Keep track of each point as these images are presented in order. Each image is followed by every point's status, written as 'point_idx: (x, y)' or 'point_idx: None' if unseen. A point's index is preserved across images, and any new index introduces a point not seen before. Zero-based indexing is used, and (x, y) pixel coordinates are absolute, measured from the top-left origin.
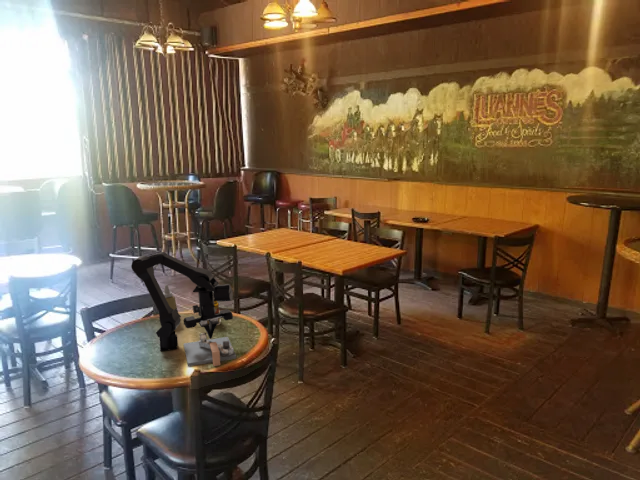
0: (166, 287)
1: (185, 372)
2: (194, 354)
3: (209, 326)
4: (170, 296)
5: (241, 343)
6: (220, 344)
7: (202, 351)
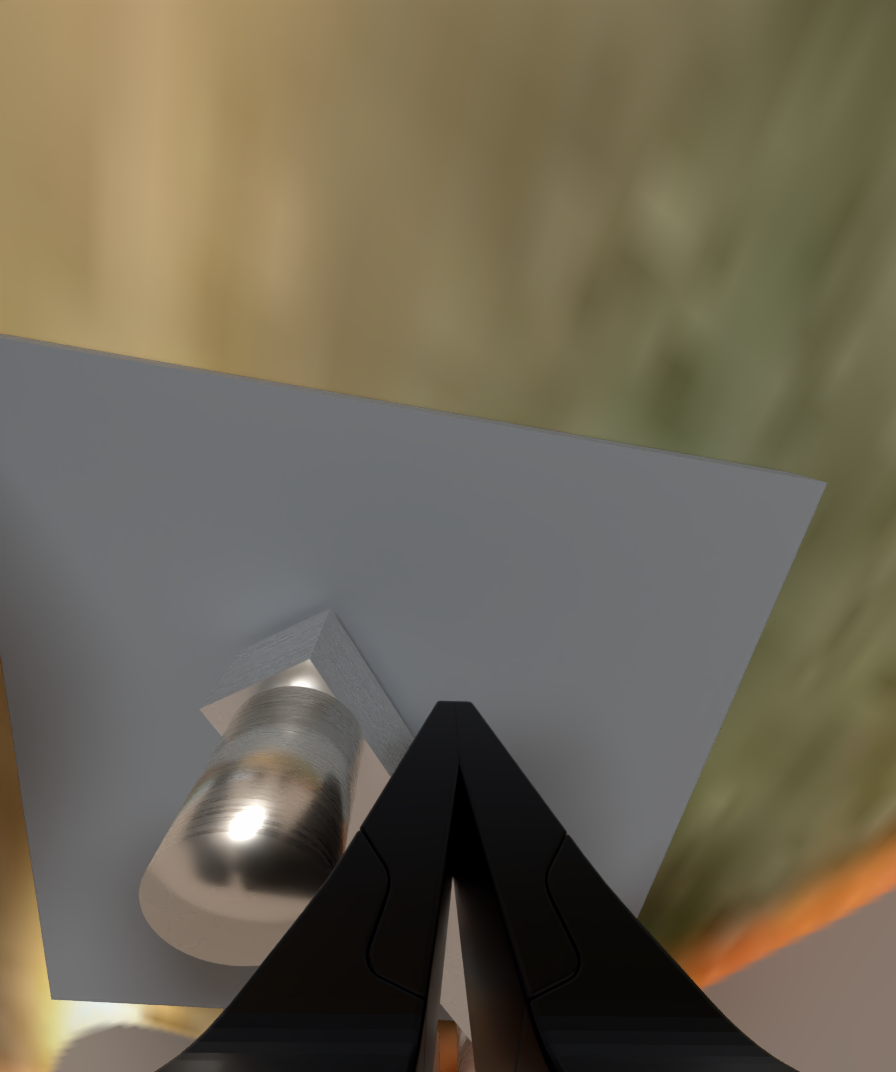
0: None
1: (52, 1034)
2: (147, 844)
3: (509, 987)
4: None
5: (844, 703)
6: None
7: None
